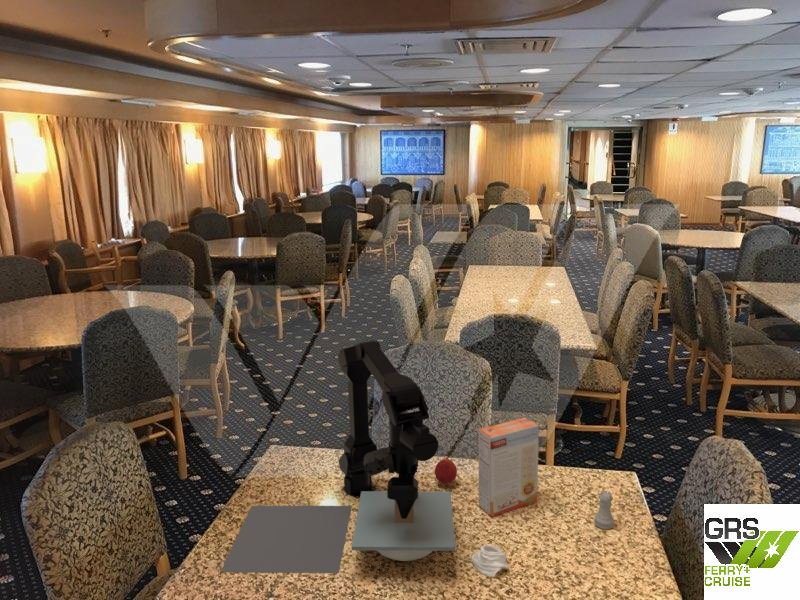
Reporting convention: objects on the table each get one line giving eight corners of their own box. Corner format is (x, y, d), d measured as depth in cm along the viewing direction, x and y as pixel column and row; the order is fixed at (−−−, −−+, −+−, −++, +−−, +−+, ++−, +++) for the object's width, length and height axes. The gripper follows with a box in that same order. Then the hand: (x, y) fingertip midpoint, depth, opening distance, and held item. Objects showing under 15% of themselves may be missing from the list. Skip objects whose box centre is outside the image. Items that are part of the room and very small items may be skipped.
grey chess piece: (615, 521, 147) (617, 491, 145) (612, 532, 143) (614, 500, 141) (595, 517, 149) (597, 487, 147) (592, 527, 145) (594, 496, 143)
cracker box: (523, 491, 161) (525, 415, 156) (538, 503, 155) (540, 425, 150) (476, 505, 155) (477, 427, 150) (490, 518, 149) (491, 437, 144)
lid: (361, 494, 148) (360, 475, 147) (450, 494, 147) (450, 475, 146) (351, 550, 127) (350, 529, 126) (455, 550, 127) (455, 529, 125)
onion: (455, 491, 161) (455, 463, 159) (433, 489, 162) (433, 461, 160) (458, 479, 167) (458, 452, 165) (436, 478, 168) (436, 450, 166)
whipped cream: (466, 569, 133) (463, 549, 132) (484, 551, 138) (482, 532, 137) (496, 584, 128) (494, 563, 126) (515, 565, 132) (513, 545, 131)
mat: (251, 507, 156) (251, 505, 156) (351, 507, 155) (351, 505, 155) (220, 574, 132) (220, 572, 131) (338, 574, 131) (338, 572, 131)
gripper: (368, 421, 142) (370, 483, 146) (361, 461, 124) (363, 531, 128) (418, 421, 142) (418, 483, 145) (417, 461, 123) (418, 531, 127)
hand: (404, 506), depth 136 cm, fingers open, 9 cm apart
